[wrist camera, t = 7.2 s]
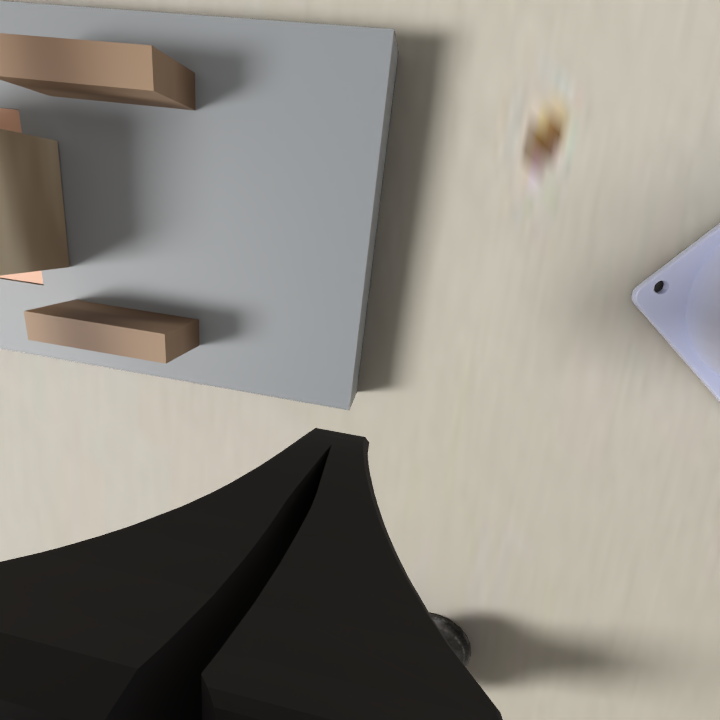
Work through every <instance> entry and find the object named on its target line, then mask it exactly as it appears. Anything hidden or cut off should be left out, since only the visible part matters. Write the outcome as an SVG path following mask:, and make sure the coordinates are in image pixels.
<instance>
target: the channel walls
mask: <svg viewBox="0 0 720 720" xmlns="http://www.w3.org/2000/svg"><path fill="white" fill-rule="evenodd" d="M0 80H2V81H6V82H9V83H12V84H15V85H18V86H21V87H24V88H27V89H30V90H33V91H36V92H39V93H42V94H45V95H48V96H54V97H64V98H74V99H84V100H94V101H104V102H114V103H124V104H134V105H144V106H155V107H165V108H175V109H185V110H195V111H196V103H195V72H193V71H191V70H190V69H188V68H187V67H185V66H183V65H182V64H180V63H179V62H177V61H176V60H174V59H172V58H171V57H169V56H168V55H166V54H164V53H163V52H161V51H160V50H158V49H156V48H155V47H153V46H152V45H140V44H128V43H116V42H104V41H91V40H79V39H67V38H55V37H42V36H30V35H18V34H5V33H0ZM24 317H25V323H26V329H27V335H28V340H32V341H38V342H43V343H49V344H55V345H61V346H67V347H72V348H78V349H84V350H90V351H96V352H101V353H107V354H113V355H119V356H125V357H130V358H136V359H142V360H148V361H154V362H159V363H165V364H166V363H168V362H170V361H172V360H174V359H176V358H177V357H179V356H181V355H183V354H185V353H187V352H188V351H190V350H192V349H194V348H196V347H198V346H199V319H193V318H187V317H181V316H174V315H168V314H162V313H156V312H149V311H143V310H137V309H130V308H124V307H118V306H111V305H105V304H99V303H92V302H86V301H80V300H71V301H66V302H62V303H57V304H53V305H48V306H44V307H39V308H35V309H30V310H26V311H24Z"/></svg>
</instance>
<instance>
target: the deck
mask: <svg viewBox="0 0 720 720" xmlns="http://www.w3.org/2000/svg"><path fill="white" fill-rule="evenodd" d="M0 33H5V34H18V35H30V36H42V37H55V38H67V39H79V40H91V41H104V42H116V43H128V44H140V45H152V46H153V47H155V48H156V49H158V50H160V51H161V52H163V53H164V54H166V55H168V56H169V57H171V58H172V59H174V60H176V61H177V62H179V63H180V64H182V65H183V66H185V67H187V68H188V69H190V70H191V71H193V72H195V103H196V111H195V110H185V109H175V108H165V107H155V106H144V105H134V104H124V103H114V102H104V101H94V100H84V99H74V98H64V97H54V96H48V95H45V94H42V93H39V92H36V91H33V90H30V89H27V88H24V87H21V86H18V85H15V84H12V83H9V82H6V81H2V80H0V108H6V109H15V110H19V116H20V123H21V130H22V133H23V134H28V135H32V136H37V137H42V138H47V139H51V140H56V141H58V151H59V162H60V172H61V183H62V193H63V203H64V214H65V224H66V235H67V245H68V256H69V266H70V267H67V268H59V269H51V270H42V278H43V284H39V283H32V282H26V281H19V280H13V279H6V278H0V349H5V350H10V351H16V352H22V353H27V354H33V355H39V356H44V357H50V358H56V359H61V360H67V361H73V362H78V363H84V364H90V365H95V366H101V367H107V368H112V369H118V370H124V371H129V372H135V373H141V374H146V375H152V376H158V377H163V378H169V379H175V380H180V381H186V382H192V383H197V384H203V385H209V386H214V387H220V388H226V389H231V390H237V391H243V392H248V393H254V394H260V395H265V396H271V397H277V398H282V399H288V400H294V401H299V402H305V403H311V404H316V405H322V406H328V407H333V408H339V409H345V410H350V407H351V405H352V402H353V400H354V398H355V395H356V393H357V385H358V377H359V369H360V361H361V353H362V345H363V337H364V328H365V320H366V312H367V304H368V296H369V288H370V279H371V271H372V263H373V255H374V247H375V239H376V231H377V222H378V214H379V206H380V198H381V190H382V182H383V173H384V165H385V157H386V149H387V141H388V133H389V125H390V116H391V108H392V100H393V92H394V84H395V76H396V67H397V59H398V47H397V42H396V37H395V31H394V29H386V28H373V27H359V26H345V25H331V24H317V23H303V22H289V21H275V20H261V19H247V18H233V17H219V16H205V15H191V14H178V13H164V12H150V11H136V10H122V9H108V8H94V7H80V6H66V5H52V4H38V3H24V2H10V1H0ZM71 300H80V301H86V302H92V303H99V304H105V305H111V306H118V307H124V308H130V309H137V310H143V311H149V312H156V313H162V314H168V315H174V316H181V317H187V318H193V319H199V346H198V347H196V348H194V349H192V350H190V351H188V352H187V353H185V354H183V355H181V356H179V357H177V358H176V359H174V360H172V361H170V362H168V363H166V364H165V363H159V362H154V361H148V360H142V359H136V358H130V357H125V356H119V355H113V354H107V353H101V352H96V351H90V350H84V349H78V348H72V347H67V346H61V345H55V344H49V343H43V342H38V341H32V340H28V335H27V329H26V323H25V317H24V311H26V310H30V309H35V308H39V307H44V306H48V305H53V304H57V303H62V302H66V301H71Z"/></svg>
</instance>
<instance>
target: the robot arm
mask: <svg viewBox="0 0 720 720" xmlns="http://www.w3.org/2000/svg"><path fill="white" fill-rule="evenodd" d="M659 281H663V283H664V286H663V288H662V290H661V291H659V292H655V291H654V286H655V284H656V283H657V282H659ZM632 301H633V303H634V304H635V305H636V306H637V308H638V309H639V310H640V311H641V312H642V313H643V315H644V316H645V317H646V318H647V319H648V320H649V321H650V323H651V324H652V325H653V326H654V327H655V328H656V329H657V331H658V332H659V333H660V334H661V335H662V336H663V338H664V339H665V340H666V341H667V342H668V343H669V344H670V346H671V347H672V348H673V349H674V350H675V351H676V352H677V354H678V355H679V356H680V357H681V358H682V359H683V361H684V362H685V363H686V364H687V365H688V366H689V367H690V369H691V370H692V371H693V372H694V373H695V374H696V375H697V377H698V378H699V379H700V380H701V381H702V382H703V384H704V385H705V386H706V387H707V388H708V389H709V390H710V392H711V393H712V394H713V395H714V396H715V397H716V398H717V400H718V401H719V402H720V223H719V224H718V225H716V226H715V227H714V228H712V229H711V230H710V231H709V232H707V233H706V234H705V235H703V236H702V237H701V238H699V239H698V240H697V241H695V242H694V243H693V244H692V245H690V246H689V247H688V248H686V249H685V250H684V251H682V252H681V253H680V254H678V255H677V256H676V257H674V258H673V259H672V260H671V261H669V262H668V263H667V264H665V265H664V266H663V267H661V268H660V269H659V270H657V271H656V272H655V273H653V274H652V275H651V276H650V277H648V278H647V279H646V280H644V281H643V282H642V283H640V284H639V285H638V286H637V287H636V288H635V289H634V290H633V292H632ZM368 446H369V442H368V440H367V439H366V438H365V437H361V436H356V435H350V434H345V433H340V432H334V431H329V430H323V429H318V428H315V429H314V430H312V431H311V432H309V433H308V434H306V435H305V436H303V437H302V438H300V439H299V440H298V441H296V442H295V443H293V444H292V445H290V446H289V447H288V448H286V449H285V450H283V451H282V452H280V453H279V454H277V455H276V456H274V457H273V458H271V459H270V460H268V461H267V462H265V463H264V464H262V465H261V466H259V467H257V468H256V469H254V470H252V471H250V472H249V473H247V474H245V475H244V476H242V477H240V478H239V479H237V480H235V481H233V482H232V483H230V484H228V485H226V486H224V487H222V488H220V489H218V490H216V491H214V492H212V493H210V494H208V495H206V496H204V497H202V498H199V499H197V500H195V501H193V502H191V503H189V504H186V505H184V506H182V507H179V508H177V509H174V510H172V511H169V512H166V513H164V514H161V515H158V516H156V517H153V518H151V519H148V520H145V521H143V522H140V523H137V524H135V525H132V526H129V527H126V528H123V529H120V530H117V531H114V532H111V533H108V534H105V535H102V536H98V537H95V538H92V539H88V540H85V541H81V542H78V543H75V544H71V545H68V546H64V547H60V548H57V549H53V550H49V551H45V552H42V553H37V554H33V555H29V556H24V557H20V558H16V559H11V560H7V561H3V562H0V720H503V719H502V716H501V713H500V712H499V710H498V709H497V708H496V706H495V705H494V704H493V703H492V701H491V700H490V699H489V697H488V696H487V695H486V693H485V692H484V691H483V690H482V688H481V687H480V686H479V684H478V683H477V682H476V681H475V679H474V678H473V677H472V675H471V674H470V673H469V671H468V670H467V669H466V667H465V666H464V664H463V663H462V662H461V660H460V659H459V658H458V656H457V655H456V653H455V652H454V651H453V649H452V648H451V646H450V645H449V643H448V642H447V640H446V639H445V637H444V636H443V634H442V633H441V631H440V630H439V628H438V627H437V625H436V624H435V622H434V621H433V619H432V617H431V616H430V614H429V612H428V610H427V609H426V607H425V605H424V604H423V602H422V600H421V598H420V597H419V595H418V593H417V592H416V590H415V588H414V586H413V585H412V583H411V581H410V580H409V578H408V576H407V574H406V572H405V570H404V568H403V566H402V564H401V562H400V560H399V558H398V556H397V554H396V551H395V549H394V547H393V544H392V542H391V540H390V538H389V535H388V533H387V530H386V528H385V525H384V522H383V519H382V516H381V513H380V510H379V507H378V504H377V501H376V497H375V494H374V490H373V486H372V481H371V477H370V472H369V465H368Z"/></svg>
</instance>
